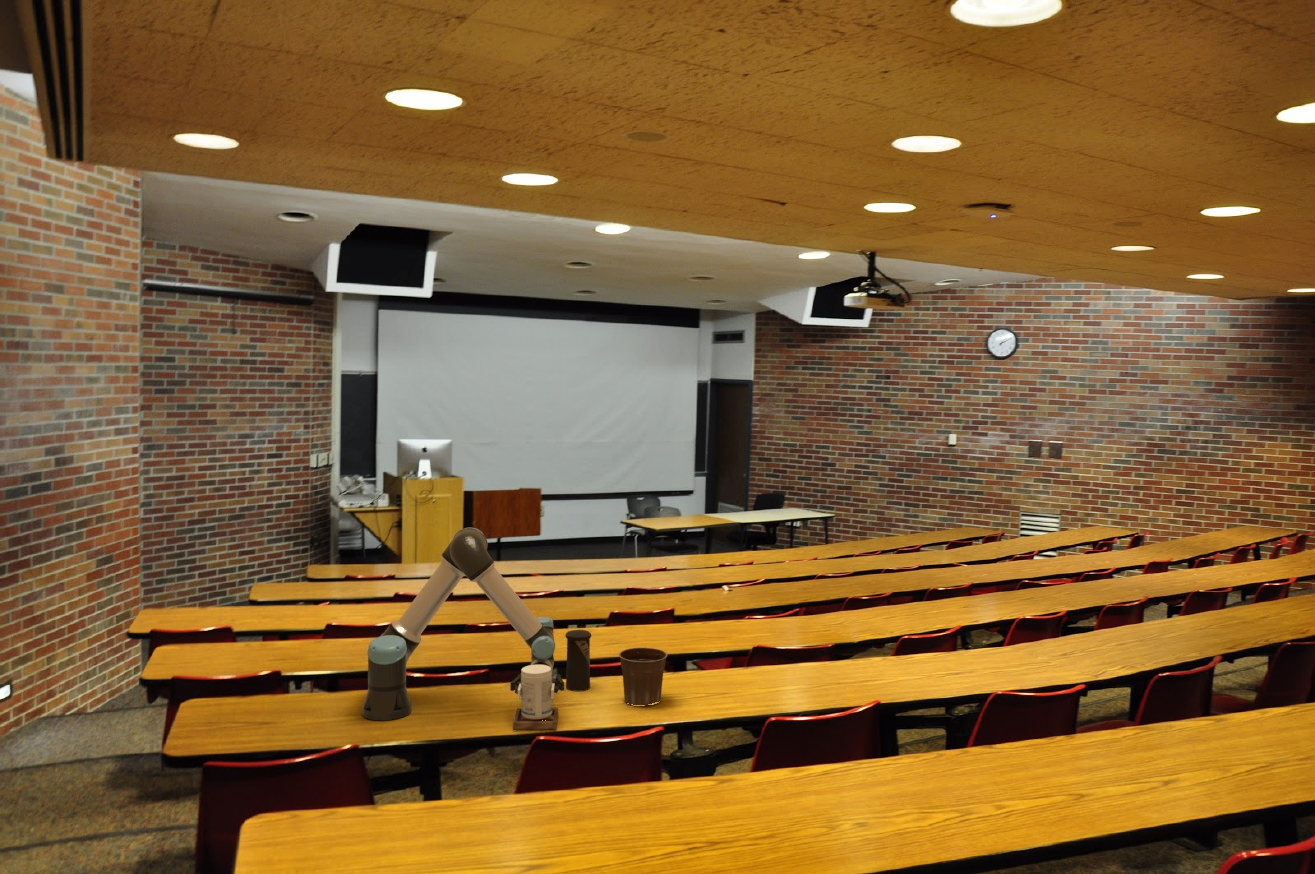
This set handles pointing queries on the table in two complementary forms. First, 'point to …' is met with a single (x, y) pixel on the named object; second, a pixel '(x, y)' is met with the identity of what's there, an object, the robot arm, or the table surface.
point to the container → (578, 660)
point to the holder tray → (535, 722)
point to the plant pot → (642, 674)
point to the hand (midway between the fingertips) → (535, 694)
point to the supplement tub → (536, 692)
